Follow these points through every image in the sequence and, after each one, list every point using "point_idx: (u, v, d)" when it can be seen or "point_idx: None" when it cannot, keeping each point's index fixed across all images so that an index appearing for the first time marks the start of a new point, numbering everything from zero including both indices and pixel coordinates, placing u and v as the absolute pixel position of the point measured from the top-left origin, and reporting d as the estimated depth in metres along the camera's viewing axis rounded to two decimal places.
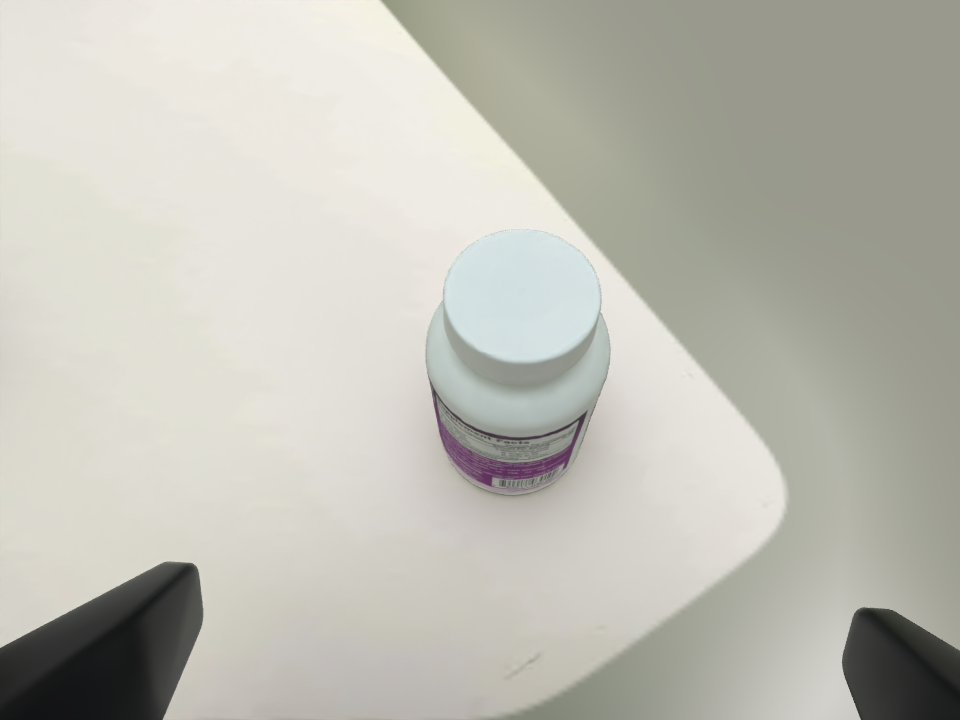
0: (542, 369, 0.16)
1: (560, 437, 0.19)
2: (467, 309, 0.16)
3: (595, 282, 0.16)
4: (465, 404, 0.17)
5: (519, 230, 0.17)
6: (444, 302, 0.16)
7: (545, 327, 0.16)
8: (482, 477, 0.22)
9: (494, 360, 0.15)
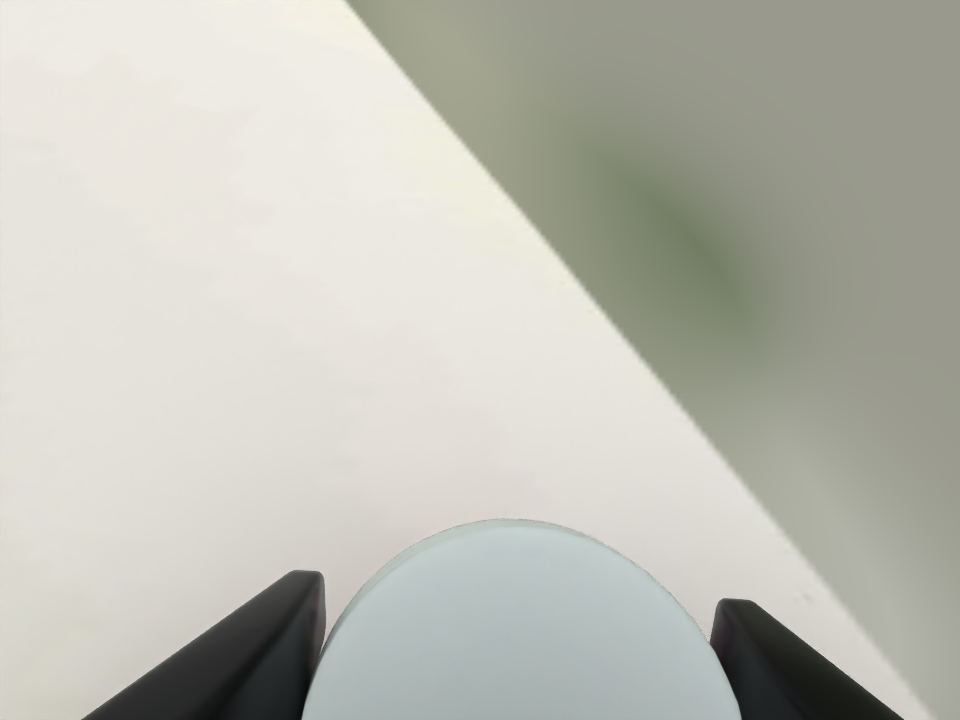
0: None
1: None
2: None
3: None
4: None
5: (515, 532, 0.06)
6: None
7: None
8: None
9: None
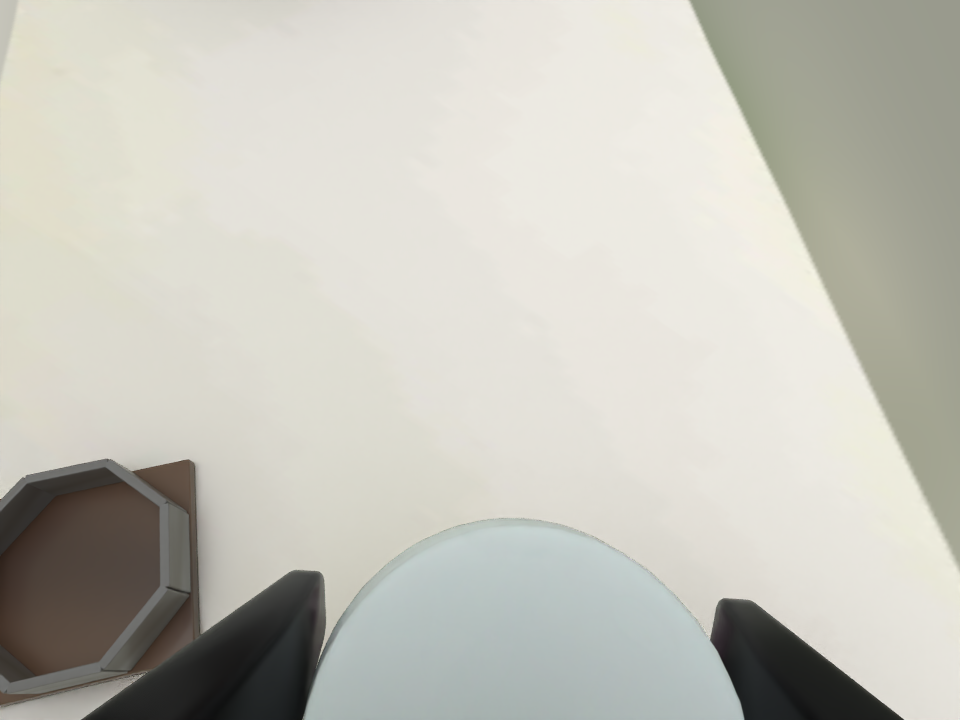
0: None
1: None
2: None
3: None
4: None
5: (517, 532, 0.06)
6: None
7: None
8: None
9: None
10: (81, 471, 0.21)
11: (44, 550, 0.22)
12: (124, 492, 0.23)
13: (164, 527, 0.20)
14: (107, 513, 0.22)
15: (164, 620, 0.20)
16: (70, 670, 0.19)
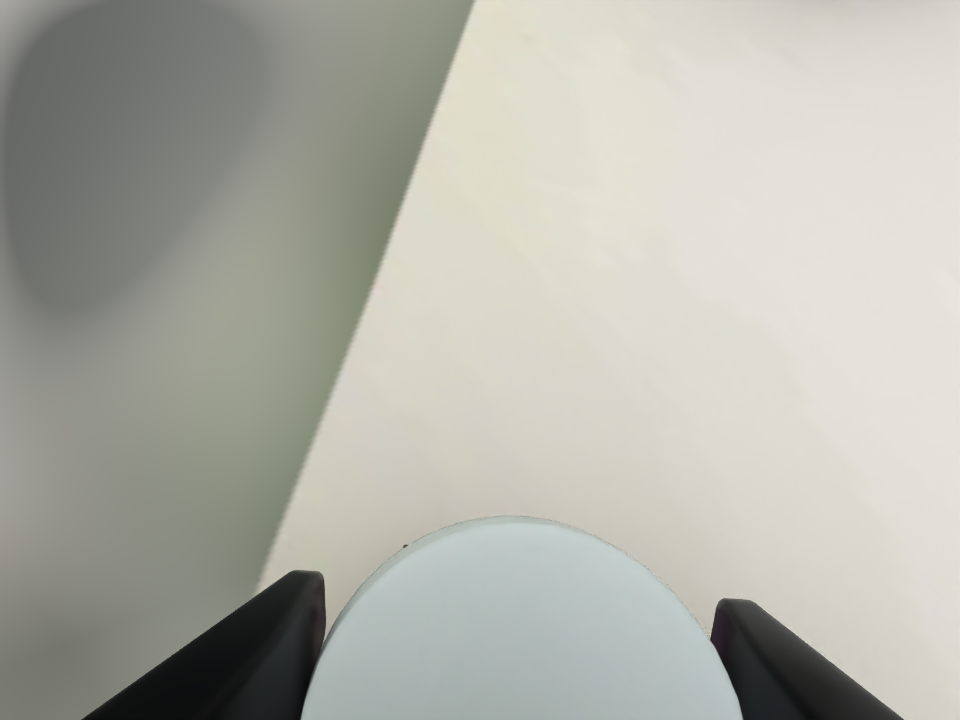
0: None
1: None
2: None
3: (732, 716, 0.06)
4: None
5: (515, 528, 0.06)
6: None
7: None
8: None
9: None
10: None
11: None
12: None
13: None
14: None
15: None
16: None
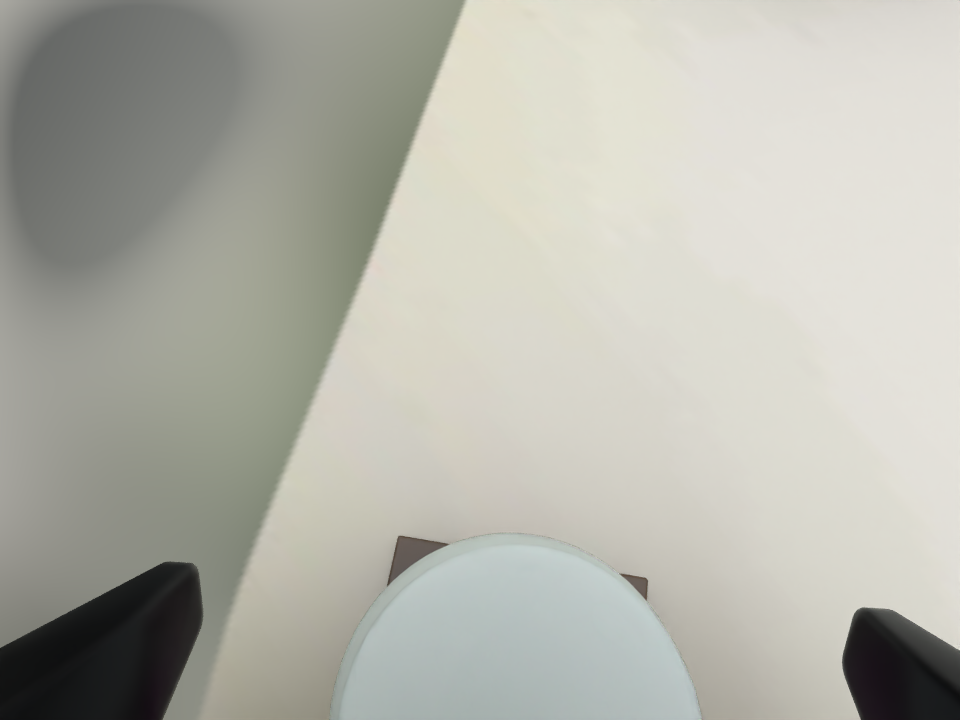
0: None
1: None
2: None
3: (690, 703, 0.07)
4: None
5: (513, 550, 0.08)
6: None
7: None
8: None
9: None
10: None
11: None
12: None
13: None
14: None
15: None
16: None
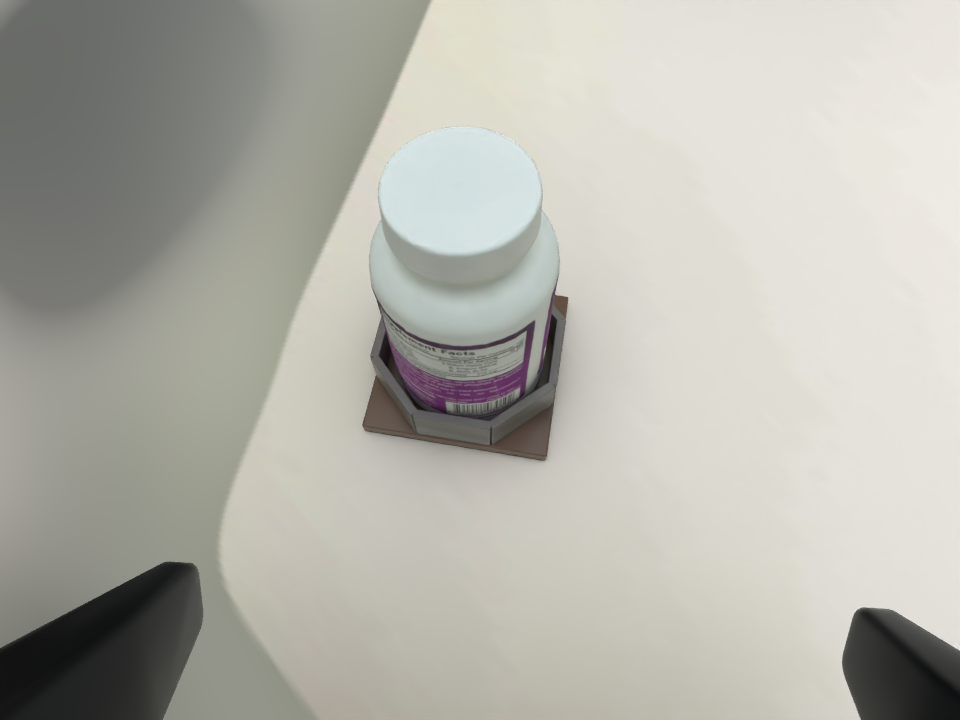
0: (479, 265, 0.15)
1: (509, 350, 0.18)
2: (402, 203, 0.15)
3: (536, 177, 0.16)
4: (405, 310, 0.17)
5: (460, 127, 0.16)
6: (379, 197, 0.16)
7: (481, 220, 0.15)
8: (436, 403, 0.21)
9: (428, 252, 0.15)
10: None
11: None
12: None
13: (559, 338, 0.23)
14: None
15: (531, 415, 0.23)
16: (466, 418, 0.21)
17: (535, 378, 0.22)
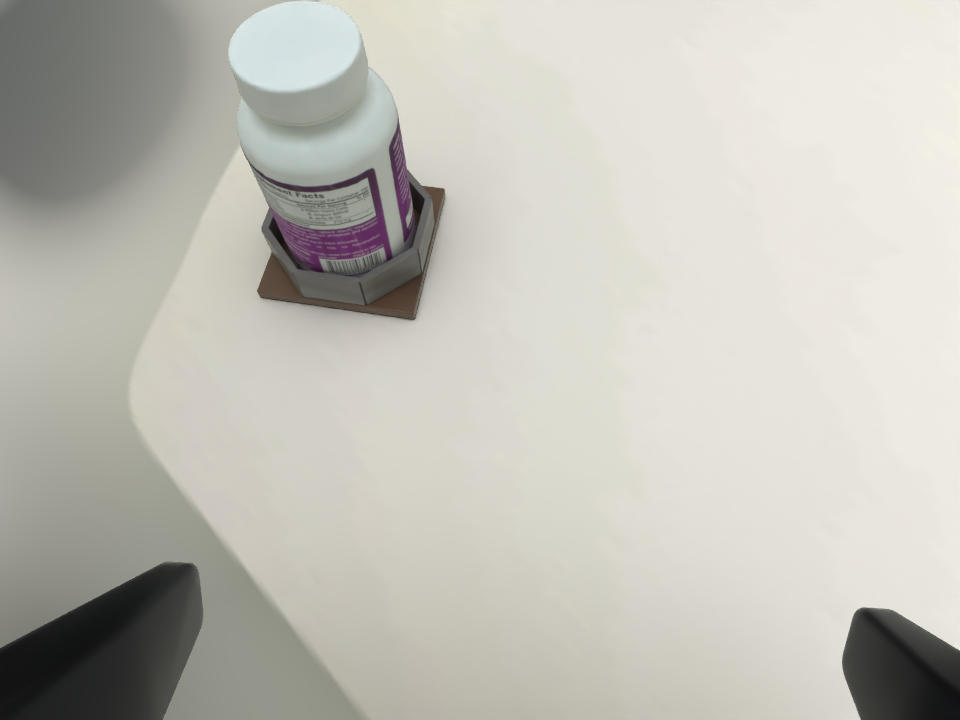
0: (306, 103, 0.19)
1: (355, 196, 0.22)
2: (245, 55, 0.19)
3: (357, 36, 0.19)
4: (261, 154, 0.21)
5: (301, 1, 0.20)
6: (228, 51, 0.19)
7: (308, 67, 0.19)
8: (313, 262, 0.25)
9: (263, 91, 0.19)
10: None
11: None
12: None
13: (425, 213, 0.27)
14: None
15: (401, 280, 0.27)
16: (338, 275, 0.25)
17: (402, 245, 0.26)
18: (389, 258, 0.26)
